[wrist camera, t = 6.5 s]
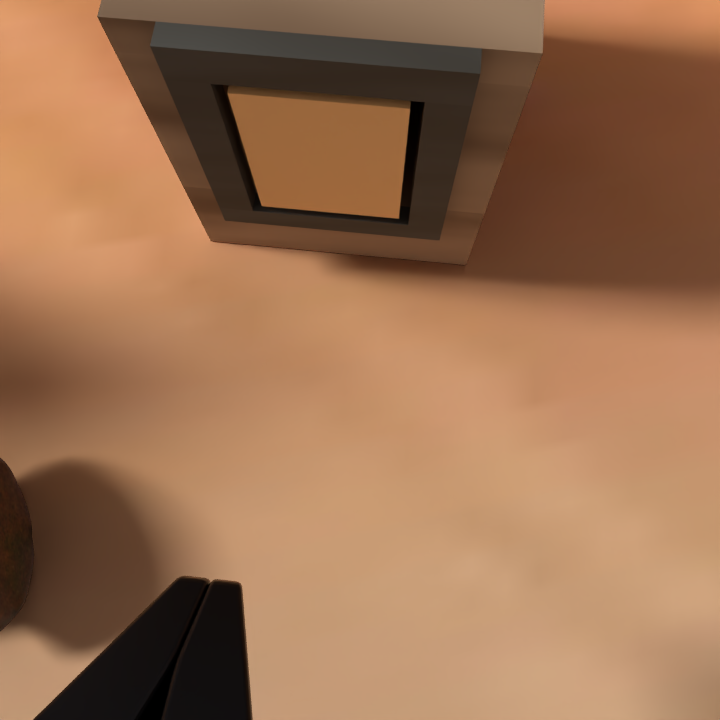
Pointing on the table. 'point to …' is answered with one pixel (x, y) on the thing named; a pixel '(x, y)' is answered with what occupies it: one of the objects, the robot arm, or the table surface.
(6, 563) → the bolt
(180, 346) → the table surface
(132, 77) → the housing
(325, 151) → the peg
